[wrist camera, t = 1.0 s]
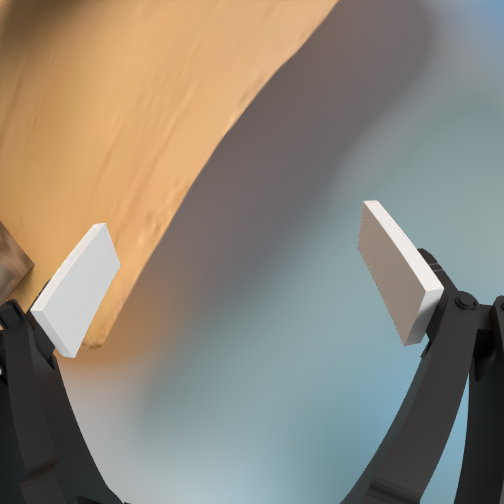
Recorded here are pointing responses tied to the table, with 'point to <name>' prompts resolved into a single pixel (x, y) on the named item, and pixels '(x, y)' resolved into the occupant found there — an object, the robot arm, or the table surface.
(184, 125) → the table surface
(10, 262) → the stand
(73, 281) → the robot arm
